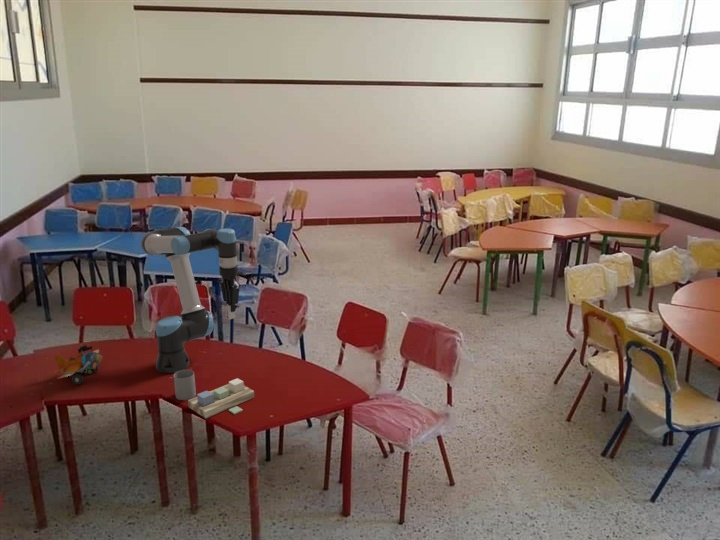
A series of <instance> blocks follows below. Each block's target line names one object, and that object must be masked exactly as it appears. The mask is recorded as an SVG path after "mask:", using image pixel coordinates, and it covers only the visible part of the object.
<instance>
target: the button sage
mask: <svg viewBox="0 0 720 540" xmlns="http://www.w3.org/2000/svg"><path fill="white" fill-rule="evenodd" d="M220 387H221V388H220ZM220 387H217V388H218V389H217V388H215V389H216V390H215V389H213V392H214V397H215V398H216V399H218V400H222V399H224V398H226V397H229V390H227V389H226V388H224V387H222V386H220Z"/></svg>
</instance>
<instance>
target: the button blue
mask: <svg viewBox="0 0 720 540" xmlns="http://www.w3.org/2000/svg"><path fill="white" fill-rule="evenodd" d="M196 397H197V399H198V404H199V405H201V406H202V407H205V406H207V405H210V404H212V403H214V402H213V394H212V393H210V391H208V390H204V391H202V392H200V393H196Z"/></svg>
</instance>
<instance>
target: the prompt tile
mask: <svg viewBox="0 0 720 540" xmlns="http://www.w3.org/2000/svg"><path fill="white" fill-rule="evenodd" d="M228 412H230V413H231V414H232V415H236V414H238V413H241V412H243V409H242V408H241V407H239V406H238V405H236V406H234V407H231V408H229V409H228Z"/></svg>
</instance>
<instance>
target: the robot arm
mask: <svg viewBox="0 0 720 540" xmlns="http://www.w3.org/2000/svg"><path fill="white" fill-rule="evenodd" d="M140 247H141V249H142V251H143V252H144V253H145V254H147V255H149V256H165V259H167V261H169V262H170V265H171V270H172V272H173V275H174V276H173V277H174V281H175V285H176V288H177V293H178V295H179V300H180V303H181V307H182V310H181V313H180V316H179V315H169V316H166V317H163V318H161V319H159V320H158V321H157V323H156V325H155V335H156V342H157V343H156V344H157V351H158V352H157V353H158V354H157V357H156V361H155V370H157V372H159V373H164V374H173V373H176V372H177V371H180V370H187V368H189V367H190V358H189V356H188V354H187V352H186V349H185V343H188V342H190V341H193V340H194V341H195V340H196V339H201V338H205V337H207V336H209V335H210V334H212V332H213V330H214V327H215V326H214V317H213V315H212V313H211V312H210V311H209V310H206V307H204V306H203V305H202V303H201V299H200V297H199V292H198V288H197V285H196V280H195V277H194V274H193V268H192V265H191V261H190V255H191V253H196V252H201V251H202V252H203V251H207V250H211V249H215V250H217V253H218V265H219V268H218V269H219V275H220V276H221V278H218V283H219V284H220V285H219V286H220V289H221V290H220V291H221V296H222V299H223V302H225V304H226V309H227V310H226V311H227V319H228V320H233V319H235V318H236V305H238V304H239V297H240V288H241V286H242V285H241V284H240V283H238V282H237V275H238V274H239V273H238V272H239V271H238V270H239V269H238V254H237V253H238V252H237V251H238V249H237V237H236V231H235V230H234V229H232V228H221V229H218V230H217V229H214V228H206V229H204V230H203V231H202V232H198V233H192V234H191V232H190V231H189V230H188V228H186V227H184V226H174V227H168V228H164V229H157V230H152V231H149V232H147V233H146V234H145V235H144V236H143V237H142V239H141V242H140Z"/></svg>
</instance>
